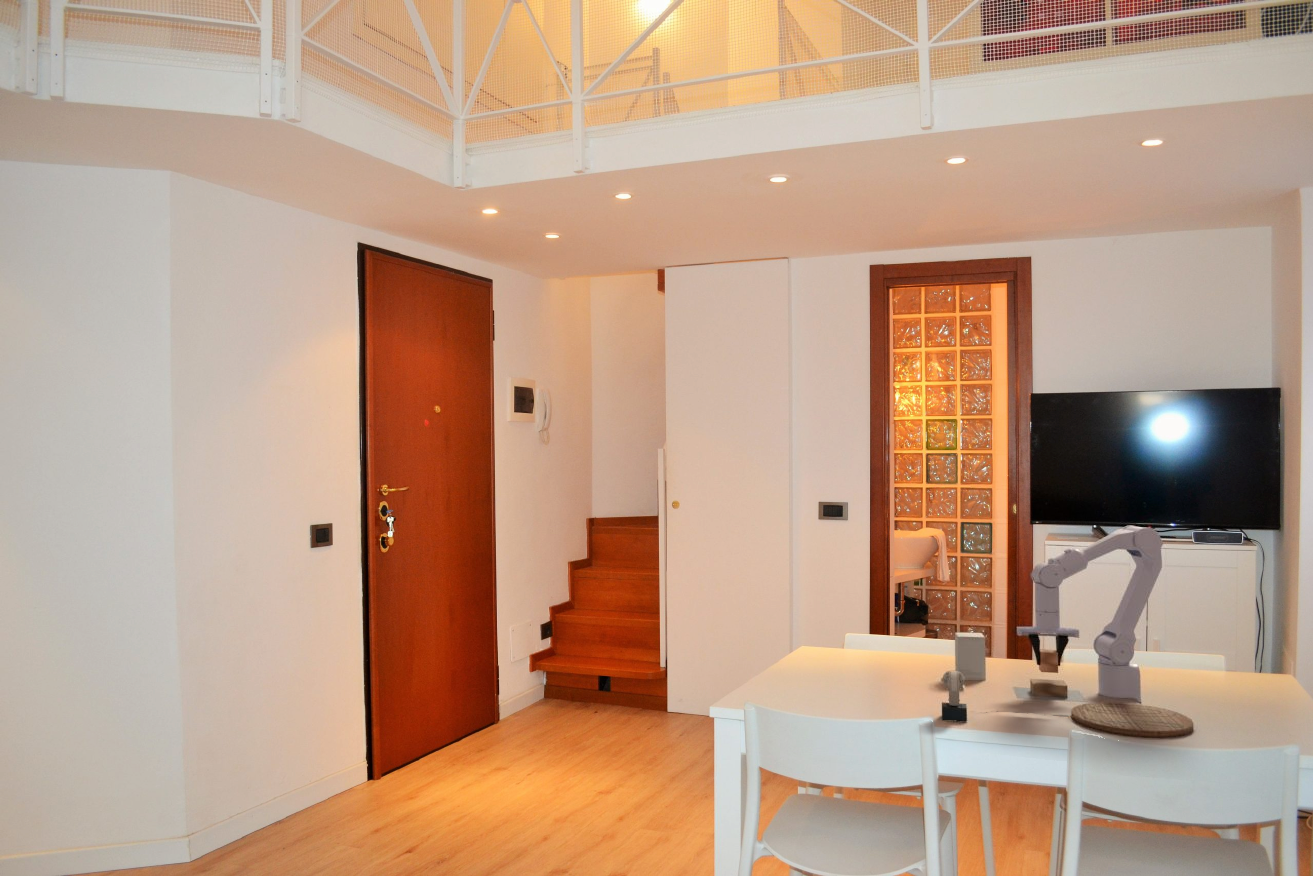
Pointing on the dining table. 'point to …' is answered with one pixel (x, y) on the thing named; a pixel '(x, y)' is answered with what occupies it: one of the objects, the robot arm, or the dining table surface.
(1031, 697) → the plate
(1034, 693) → the brown block
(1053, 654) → the terracotta block
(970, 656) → the supplement box
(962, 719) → the watch
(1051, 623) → the robot arm
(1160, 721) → the trivet
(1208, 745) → the dining table surface
